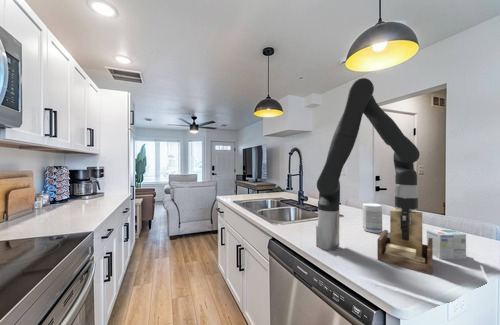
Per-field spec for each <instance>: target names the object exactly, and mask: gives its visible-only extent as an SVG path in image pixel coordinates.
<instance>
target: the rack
mask: <svg viewBox="0 0 500 325" xmlns="http://www.w3.org/2000/svg"><path fill="white" fill-rule="evenodd" d="M388 232H389V231H388V230H387V229H384V230H382V232H381V233H380V235H379V236H378V237H377V241H376V242H377V249H376V250H377V260H378V261H380V262H384V263H388V264H391V265H394V266H398V267H402V268H406V269H410V270H414V271H416V272H421V273H425V274H429V275H433V257H434V256H433V238H428V245H427V244H423V243H422V258H425V264H424V263H419V262H415V261H411V260H407V259H403V258H399V257H395V256H391V255H387V254H384V252H385V250H386V245H387V243H388V244H390V237H389V236H388V234H389V233H388Z"/></svg>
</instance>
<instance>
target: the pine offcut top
mask: <svg viewBox="0 0 500 325" xmlns="http://www.w3.org/2000/svg"><path fill="white" fill-rule="evenodd" d="M386 253H390V254H394V255H398V256H403V257H407V258H411V259H415V260H416V249H412V248H407V247H402V246H398V245H393V244H388V243H387V245H386Z"/></svg>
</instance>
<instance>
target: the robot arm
mask: <svg viewBox="0 0 500 325" xmlns="http://www.w3.org/2000/svg"><path fill="white" fill-rule="evenodd" d="M374 91H375V87H374V84H373V81H371V80H370V79H369V78H366V77H362V78H359V79H358V78H357V80H355V81H353V83H352V84H351V85H350V87H349V89H348V95H347V98H346V104H345V107H344V111H343V113H342V115H341V117H340V119H339V121H338V124H337V125H336V129H335V131H334V133H333V135H332V139H331V142H330V146H329V149H328V152H327V156H326V161H325V163H324V166H323V168H322V171H321V173H320V174H319V176H318V178H317V181H316V189H317V191H318V201H317V202H318V203H317V224H316V226H315V236H316V237H315V238H316V239H315V246H316V247H318V248H320V249H321V250H324V251H332V252H333V251H334V252H335V251H338V250H339V249H340V204H341V203H340V202H341V182H340V178H341V175H342V171H343V168H344V166H345V163H346V162H347V160H348V159H349V157H350V155H351V153H352V151H353V149H354V146H355V144H356V141H357V138H358V135H359V131H360V128H361V124H362V123H361V122H362V118H363V115H364V116H365V117H366V118H367V119H368V121H369V122H370V124H371V125H372V126H373V127H374V129H375V131H376V133H377V134H378V135H379V137H380V138H381V139H382V141H383V142H384V144H386V145H387V146H389V147H390V148H391V149H392V151H393V166H394V172H395V178H394V182H395V187H394V207H396V208H397V209H398V208H400V210H402V215H400V223H401V227H400V229H401V230H402V239H403V240H406V241H408V240H409V230H410V229H409V225H411V218H409V212H410V211H412V210H417V209H418V208H419V190H418V189H419V188H418V174H417V171H416V170H415V168H414V167H415V166H414V163H416V162H417V161H418V160H419V159H420V155H421V154H420V151H419V149H418V147H417V146H416V145H415V144H414V143H413V142H412V141H411V139H409V138H408V137H407V136H406V135H405V134H404V132H403V131H402V130H401V129H400V128H399V126H398V125H397V123H396V122H395V120H394V119H392V117H390V116H389V115H388V113H386V112H385V111H384V110H383V109H382V108H381V107H380V105H379V104H378V103H377V101H376V99H375V97H374V95H373V94H374ZM403 225H407V227H403Z"/></svg>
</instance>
